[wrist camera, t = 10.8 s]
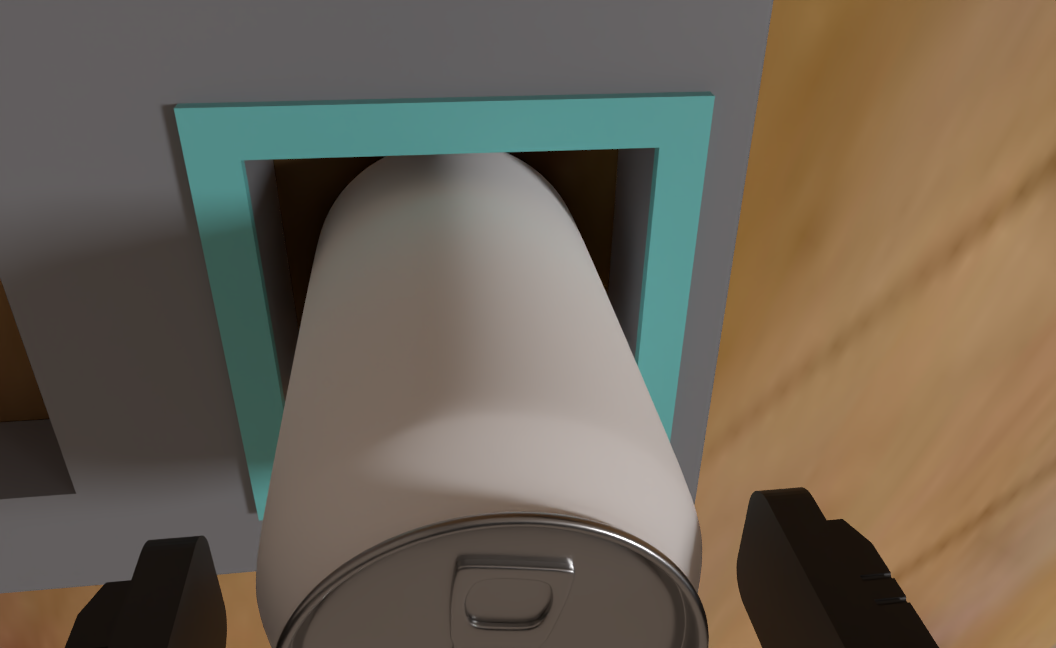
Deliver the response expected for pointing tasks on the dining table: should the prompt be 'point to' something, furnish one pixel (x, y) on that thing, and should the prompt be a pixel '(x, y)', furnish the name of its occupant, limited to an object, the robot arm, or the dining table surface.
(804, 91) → the dining table surface
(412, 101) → the dock panel
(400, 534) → the can
